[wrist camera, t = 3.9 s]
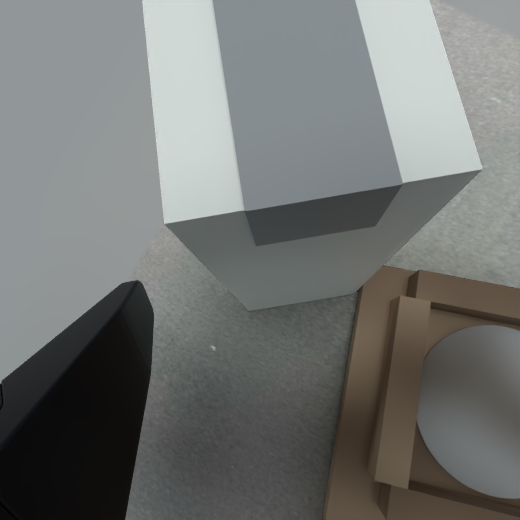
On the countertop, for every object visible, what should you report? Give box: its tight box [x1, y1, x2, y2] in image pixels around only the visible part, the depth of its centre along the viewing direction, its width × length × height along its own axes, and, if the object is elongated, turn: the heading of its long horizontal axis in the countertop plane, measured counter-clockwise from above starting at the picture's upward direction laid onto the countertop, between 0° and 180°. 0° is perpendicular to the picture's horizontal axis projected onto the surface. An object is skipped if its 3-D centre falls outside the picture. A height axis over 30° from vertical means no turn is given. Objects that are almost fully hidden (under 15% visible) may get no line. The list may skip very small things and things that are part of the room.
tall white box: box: [142, 0, 483, 311], centre depth 13 cm, size 5×5×13 cm
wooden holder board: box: [322, 265, 520, 520], centre depth 15 cm, size 16×12×4 cm
